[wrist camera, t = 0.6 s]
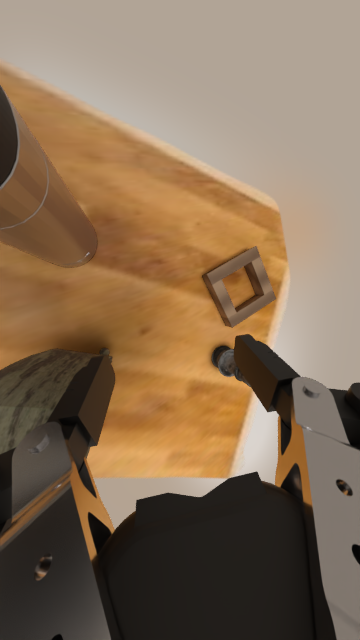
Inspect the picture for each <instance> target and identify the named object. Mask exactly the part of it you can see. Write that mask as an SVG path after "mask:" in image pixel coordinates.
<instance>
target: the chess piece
mask: <svg viewBox="0 0 360 640" xmlns="http://www.w3.org/2000/svg"><path fill="white" fill-rule="evenodd" d="M212 362H213V364H214V365H215V366H216V367H218V368H219V371H220V373H221V374H222V375H224V376H227V377H231V376H234V375H235V377H236V379H237V380H239V381H243V382H244V383H246V384H247V385H248V386H249V387H251V386H250V385H249V383H248V382H247V380H246V379H245V377H244V376H243V374H242V373H241V371H240V370H239V368H238V367H237V365H236V363H235V361H234V349H230V348H229V347H227V346H220V347H218V348H216V349H215V350H214V352H213V354H212Z"/></svg>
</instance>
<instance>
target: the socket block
mask: <svg viewBox="0 0 360 640" xmlns="http://www.w3.org/2000/svg"><path fill="white" fill-rule="evenodd" d="M243 266H244V267H245V269H246V272H247V274H248V277H249V279H250V281H251V284H252V286H253V289H254V291H255V294H256V295H255V296H254V297H252V298H251V299H249V300H248V301H246V302H244V303H243V304H241V305H240V306H238V307H237V308H234V306H233V303H232V301H231V299H230V297H229V295H228V292H227V290H226V288H225V286H224V284H223V281H222V279H223V278H225V277H226V276H228V275H230V274H231V273H233V272H235V271H237V270H238V269H240V268H242V267H243ZM202 277H203V280H204V282H205V284H206V286H207V288H208V290H209V292H210V294H211V296H212V298H213V300H214V302H215V304H216V306H217V308H218V311H219V313H220V315H221V317H222V319H223V321H224V323H225V325H226V326H229V327H234V326H236V325H237V324H239V323H240V322H242V321H243V320H245V319H246V318H248V317H249V316H251V315H252V314H254V313H255V312H257V311H258V310H260V309H261V308H263V307H264V306H266V305H267V304H269V303H270V302H272V301H273V300H275V299H276V297H275V295H274V292H273V289H272V287H271V284H270V281H269V279H268V276H267V273H266V271H265V268H264V265H263V263H262V260H261V257H260V255H259V252H258V249H257V247H256V246H255V247H253V248H251V249H248V250H247V251H245V252H243V253H241V254H240V255H238V256H236V257H234V258H233V259H231V260H229V261H227V262H226V263H224V264H222V265H220V266H219V267H217V268H215V269H213V270H212V271H210V272H208V273H206V274H205V275H203V276H202Z"/></svg>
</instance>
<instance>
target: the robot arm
mask: <svg viewBox="0 0 360 640" xmlns="http://www.w3.org/2000/svg"><path fill="white" fill-rule="evenodd" d="M0 242H2V243H5V244H7V245H9V246H12V247H14V248H17V249H19V250H21V251H24V252H26V253H29V254H31V255H34V256H36V257H38V258H41V259H43V260H46V261H48V262H51V263H53V264H55V265H58V266H62V267H78V266H81V265H83V264H85V263H87V262H88V261H89V260H90V259H91V258H92V257H93V255H94V254H95V252H96V248H97V236H96V233H95V230H94V228H93V226H92V225H91V223H90V221H89V220H88V218H87V217H86V215H85V214H84V212H83V210H82V209H81V207H80V206H79V204H78V203H77V201H76V200H75V198H74V197H73V195H72V194H71V192H70V190H69V189H68V187H67V186H66V184H65V183H64V181H63V180H62V178H61V177H60V175H59V174H58V172H57V171H56V169H55V167H54V166H53V164H52V163H51V161H50V160H49V158H48V157H47V155H46V154H45V152H44V151H43V149H42V148H41V146H40V144H39V143H38V141H37V140H36V138H35V137H34V136H33V134H32V133H31V131H30V130H29V128H28V127H27V125H26V123H25V122H24V120H23V119H22V117H21V116H20V114H19V113H18V111H17V110H16V108H15V107H14V105H13V104H12V102H11V101H10V99H9V97H8V96H7V94H6V93H5V91H4V90H3V88H2V87H1V85H0ZM234 361H235V363H236V365H237V367H238V368H239V370H240V371H241V373H242V374H243V376H244V377H245V379H246V380H247V382H248V383H249V385H250V386H251V388H252V389H253V391H254V392H255V394H256V395H257V397H258V398H259V400H260V401H261V403H262V405H263V406H264V407H265V409H266V410H267V412H272V411H277V413H278V414H279V417H278V464H277V469H276V477H275V485H273V484H271V483H268V482H264V481H261V479H260V477H259V475H258V472H253V473H249V474H245V475H241V476H237V477H232V478H229V479H227V480H226V481H225V482H223V483H222V484H220V485H219V486H217V487H216V488H215V489H213V490H212V491H210V492H209V493H208V494H206V495H205V496H203V497H193V496H186V495H180V494H173V493H165V494H161V495H156V496H152V497H148V498H144V499H139V500H137V502H136V511H135V512H133V513H132V514H131V515H129V516H128V517H127V518H126V519H125V520H124V521H123V522H122V523H121V524H120V525H119V526H118V527H117V528H116V529H114V527H113V524H112V521H111V519H110V517H109V514H108V512H107V510H106V509H105V507H104V505H103V503H102V501H101V499H100V496H99V493H98V491H97V488H96V485H95V482H94V479H93V477H92V474H91V471H90V468H89V466H88V463H87V460H86V458H85V454H86V451H87V448H88V447H92V446H97V444H98V441H99V437H100V434H101V430H102V427H103V423H104V420H105V416H106V413H107V409H108V406H109V402H110V399H111V395H112V392H113V388H114V385H115V373H114V370H113V367H112V365H111V362H110V360H109V357H108V355H100V356H93V357H92V358H91V359H90V361H89V363H88V365H87V366H85V367H82V368H81V369H80V370H79V371H78V372H77V373H76V374H75V375H74V377H73V379H72V380H71V382H70V384H69V385H68V387H67V389H66V392H64V394H63V395H62V397H61V399H60V400H59V402H58V404H57V405H56V407H55V409H54V410H53V412H52V414H51V415H50V417H49V419H48V420H47V422H46V423H44V424H42V425H40V426H38V427H37V428H35V429H34V430H32V431H31V432H30V433H28V434H27V435H26V436H25V437H24V438H23V439H22V440H21V442H20V443H19V444H18V446H17V447H15V448H13V449H11V450H9V451H7V452H4V453H2V454H0V640H360V383H354V384H352V385H351V387H350V388H349V390H348V391H346V390H336V389H328V388H326V387H325V386H324V385H323V384H321V383H319V382H317V381H316V380H313V379H310V378H306V377H300V376H299V375H298V374H297V373H296V372H295V371H294V370H293V369H292V368H291V367H290V366H289V365H288V364H287V363H285V362H284V361H283V360H282V359H281V358H280V357H278V355H277V354H276V353H275V352H273V350H272V349H270V348H269V347H268V346H267V345H266V344H264V343H262V342H260V341H256V340H255V339H254V338H253V337H252V336H251V335H249V334H246V335H239V336H236V338H235V346H234Z"/></svg>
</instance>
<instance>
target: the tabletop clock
mask: <svg viewBox="0 0 360 640" xmlns="http://www.w3.org/2000/svg"><path fill="white" fill-rule="evenodd" d="M100 355H109V349H108V348H102V349H101V350H100ZM100 355H98V354H91V353H84V352H77V351H70V350H63V349H52V350H48V351H45V352H41V353H38V354H35V355H31V356H29V357H27V358H24V359H22V360H20V361H18V362H15V363H13V364H11V365H9V366H7V367H5V368H4V369H2V370H0V454H2V453H4V452H7V451H9V450H11V449H13V448H15V447H17V446H18V444H19V443H20V442H21V440H22V439H23V438H24V437H25V436H26V435H27V434H28V433H30V432H31V431H32V430H34V429H35V428H37V427H38V426H40V425H42V424H44V423H46V422H47V420H48V419H49V417H50V415H51V414H52V412H53V410H54V409H55V407H56V405H57V404H58V402H59V400H60V399H61V397H62V395H63V394H64V392H66V389H67V387H68V385H69V384H70V382H71V380H72V379H73V377H74V375H75V374H76V373H77V372H78V371H79V370H80V369H81V368H82V367H85V366H87V365H88V363H89V361H90V359H91V358H92V357H93V356H100ZM108 357H109V360H110V362H112V357H111V356H108ZM89 450H90V447H88V448H87V451H86V454H85V458H87V456H88V453H89Z"/></svg>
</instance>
